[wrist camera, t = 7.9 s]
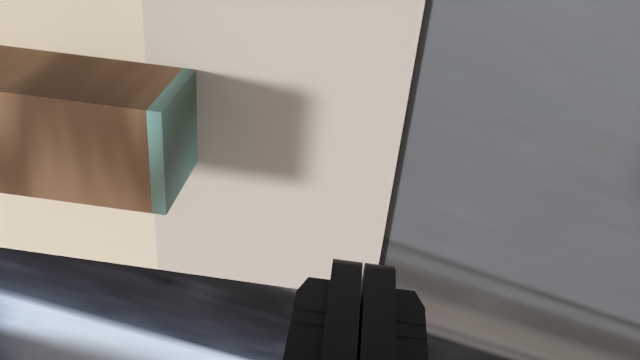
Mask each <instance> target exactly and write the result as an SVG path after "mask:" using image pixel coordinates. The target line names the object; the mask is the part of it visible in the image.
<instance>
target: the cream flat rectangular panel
mask: <svg viewBox="0 0 640 360" xmlns="http://www.w3.org/2000/svg"><path fill="white" fill-rule="evenodd" d="M424 6H425V0H0V45H3V46H11V47H19V48H27V49H35V50H43V51H51V52H59V53H67V54H75V55H83V56H91V57H99V58H107V59H115V60H123V61H131V62H139V63H147V64H155V65H163V66H171V67H179V68H187V69H195V70H196V91H197V158H198V162H197V164H196V165H195V167H194V169H193V171H192V172H191V174H190V176H189V177H188V179H187V181H186V182H185V184H184V186H183V188H182V189H181V191H180V193H179V194H178V196H177V198H176V199H175V201H174V203H173V205H172V206H171V208H170V210H169V211H168V213H167V215H160V214H152V213H145V212H138V211H130V210H123V209H115V208H108V207H101V206H93V205H86V204H79V203H71V202H64V201H57V200H49V199H42V198H34V197H27V196H20V195H12V194H5V193H0V247H2V248H9V249H16V250H24V251H31V252H38V253H45V254H52V255H59V256H66V257H74V258H81V259H88V260H95V261H102V262H109V263H116V264H124V265H131V266H138V267H145V268H152V269H159V270H166V271H174V272H181V273H188V274H195V275H202V276H209V277H216V278H224V279H231V280H238V281H245V282H252V283H259V284H266V285H274V286H281V287H288V288H295V289H298V288H299V287H300V286H301V285H302V284H303V283H304V282H305V280H306V279H307V278H308V277H313V278H320V279H327V280H330V278H331V271H332V263H333V259H340V260H347V261H355V262H362V263H363V268H362V276H363V270H364V265H365V263H371V264H378V265H379V260H380V254H381V249H382V243H383V237H384V232H385V226H386V220H387V215H388V209H389V203H390V198H391V192H392V186H393V181H394V175H395V170H396V164H397V158H398V153H399V147H400V141H401V136H402V130H403V124H404V119H405V113H406V107H407V102H408V96H409V91H410V85H411V79H412V74H413V68H414V62H415V57H416V51H417V45H418V40H419V34H420V28H421V23H422V17H423V12H424Z"/></svg>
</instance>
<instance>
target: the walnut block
mask: <svg viewBox="0 0 640 360" xmlns="http://www.w3.org/2000/svg"><path fill="white" fill-rule="evenodd" d="M197 162H198V158H197V91H196V70H195V69H187V68H179V67H171V66H163V65H155V64H147V63H139V62H131V61H123V60H115V59H107V58H99V57H91V56H83V55H75V54H67V53H59V52H51V51H43V50H35V49H27V48H19V47H11V46H3V45H0V193H5V194H12V195H20V196H27V197H34V198H42V199H49V200H57V201H64V202H71V203H79V204H86V205H93V206H101V207H108V208H115V209H123V210H130V211H138V212H145V213H152V214H160V215H167V213H168V211H169V210H170V208H171V206H172V205H173V203H174V201H175V199H176V198H177V196H178V194H179V193H180V191H181V189H182V188H183V186H184V184H185V182H186V181H187V179H188V177H189V176H190V174H191V172H192V171H193V169H194V167H195V165H196V164H197Z"/></svg>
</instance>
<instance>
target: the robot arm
mask: <svg viewBox="0 0 640 360" xmlns="http://www.w3.org/2000/svg"><path fill="white" fill-rule="evenodd" d="M362 268H363V263H362V262H355V261H347V260H340V259H333V263H332V271H331V278H330V280H327V279H320V278H313V277H308V278H307V279H306V280H305V282H304V283H303V284H302V285H301V286H300V287H299V288H298V290H297V292H296V297H295V302H294V307H293V312H292V317H291V323H290V327H289V332H288V337H287V342H286V347H285V353H284V358H283V360H428V347H427V333H426V318H425V307H424V306H423V304H422V302H421V301H420V299H419V297H418V296H417V294H416V292H415V291H409V290H402V289H396V272H395V267H393V266H385V265H378V264H371V263H365V265H364V270H363V276H362Z"/></svg>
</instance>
